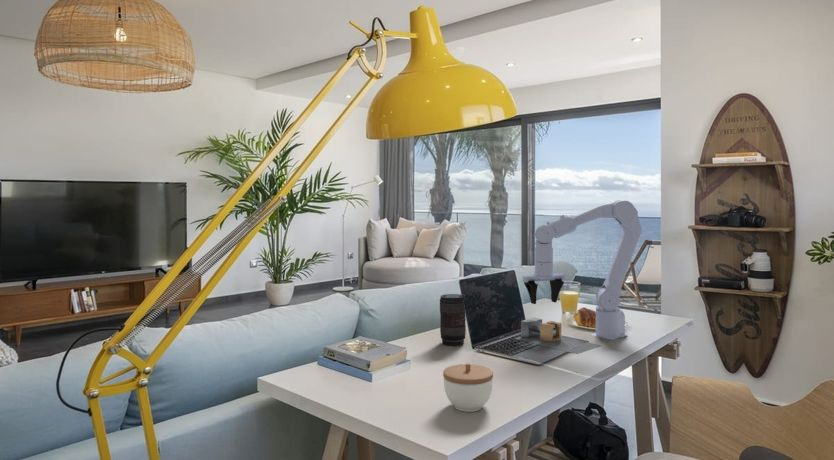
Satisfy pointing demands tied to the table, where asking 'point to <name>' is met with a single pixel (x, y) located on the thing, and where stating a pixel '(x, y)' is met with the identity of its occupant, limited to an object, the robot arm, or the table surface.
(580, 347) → the mat
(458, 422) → the table surface
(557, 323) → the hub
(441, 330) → the camera lens
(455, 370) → the lidded jar
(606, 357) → the table surface
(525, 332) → the shaft assembly
